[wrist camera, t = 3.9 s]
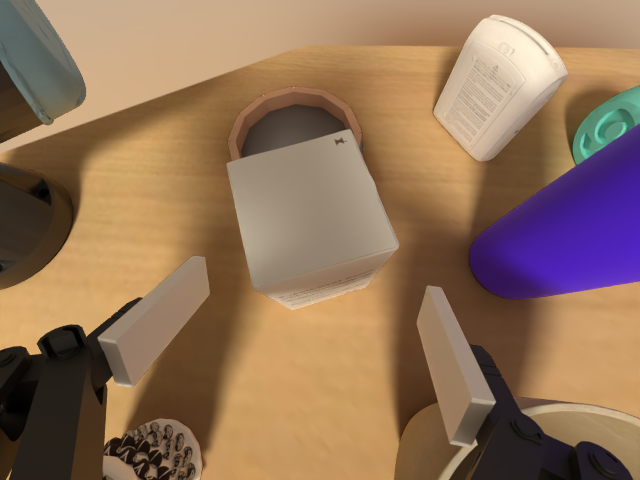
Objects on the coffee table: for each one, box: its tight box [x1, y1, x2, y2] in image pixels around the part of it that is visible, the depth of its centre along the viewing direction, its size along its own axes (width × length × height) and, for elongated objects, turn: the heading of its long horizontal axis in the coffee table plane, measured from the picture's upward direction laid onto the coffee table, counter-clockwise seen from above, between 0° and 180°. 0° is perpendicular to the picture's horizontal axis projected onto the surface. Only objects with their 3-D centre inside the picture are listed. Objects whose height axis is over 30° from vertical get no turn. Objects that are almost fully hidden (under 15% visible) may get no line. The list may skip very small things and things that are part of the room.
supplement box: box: [226, 129, 399, 310], centre depth 23 cm, size 9×9×15 cm
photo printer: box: [433, 15, 568, 161], centre depth 29 cm, size 10×4×12 cm, turn 31°
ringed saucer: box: [228, 86, 363, 161], centre depth 34 cm, size 17×17×3 cm
